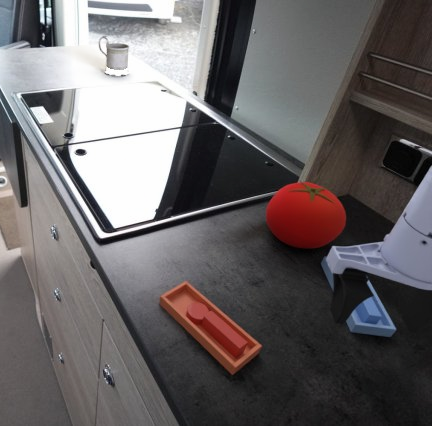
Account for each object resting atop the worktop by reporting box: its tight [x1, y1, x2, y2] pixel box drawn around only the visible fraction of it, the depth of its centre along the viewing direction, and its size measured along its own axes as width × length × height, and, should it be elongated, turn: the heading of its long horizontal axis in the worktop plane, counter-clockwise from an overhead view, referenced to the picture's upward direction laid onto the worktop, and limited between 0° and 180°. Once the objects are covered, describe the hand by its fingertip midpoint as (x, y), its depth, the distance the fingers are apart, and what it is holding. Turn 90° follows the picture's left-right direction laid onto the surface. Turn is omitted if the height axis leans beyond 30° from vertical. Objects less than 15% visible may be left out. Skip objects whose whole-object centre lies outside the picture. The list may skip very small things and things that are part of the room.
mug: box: [98, 35, 130, 70], centre depth 142 cm, size 14×10×12 cm
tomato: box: [265, 180, 347, 250], centre depth 64 cm, size 11×12×10 cm
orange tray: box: [158, 280, 263, 376], centre depth 51 cm, size 14×5×2 cm, turn 36°
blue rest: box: [320, 256, 397, 338], centre depth 56 cm, size 14×5×2 cm, turn 172°
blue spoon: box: [355, 297, 382, 324], centre depth 54 cm, size 9×3×2 cm, turn 172°
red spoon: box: [186, 302, 248, 358], centre depth 50 cm, size 9×3×2 cm, turn 36°
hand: (371, 320), depth 41 cm, fingers open, 7 cm apart
